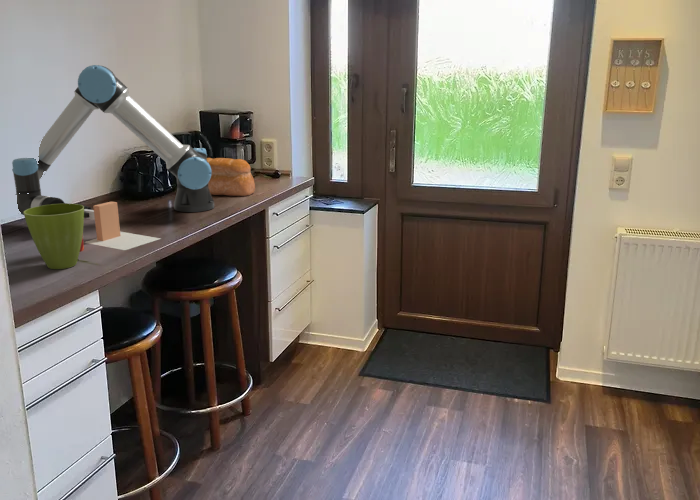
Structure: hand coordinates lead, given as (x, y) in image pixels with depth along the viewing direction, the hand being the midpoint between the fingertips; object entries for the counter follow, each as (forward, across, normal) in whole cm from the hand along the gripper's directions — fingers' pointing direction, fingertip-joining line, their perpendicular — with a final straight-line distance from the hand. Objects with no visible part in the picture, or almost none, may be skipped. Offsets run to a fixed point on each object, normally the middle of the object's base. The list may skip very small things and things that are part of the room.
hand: (98, 215), depth 203 cm
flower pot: (+13, +25, -8) cm, 29 cm away
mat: (+10, 0, -7) cm, 12 cm away
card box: (+4, 0, -7) cm, 8 cm away
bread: (-14, -78, -8) cm, 79 cm away
